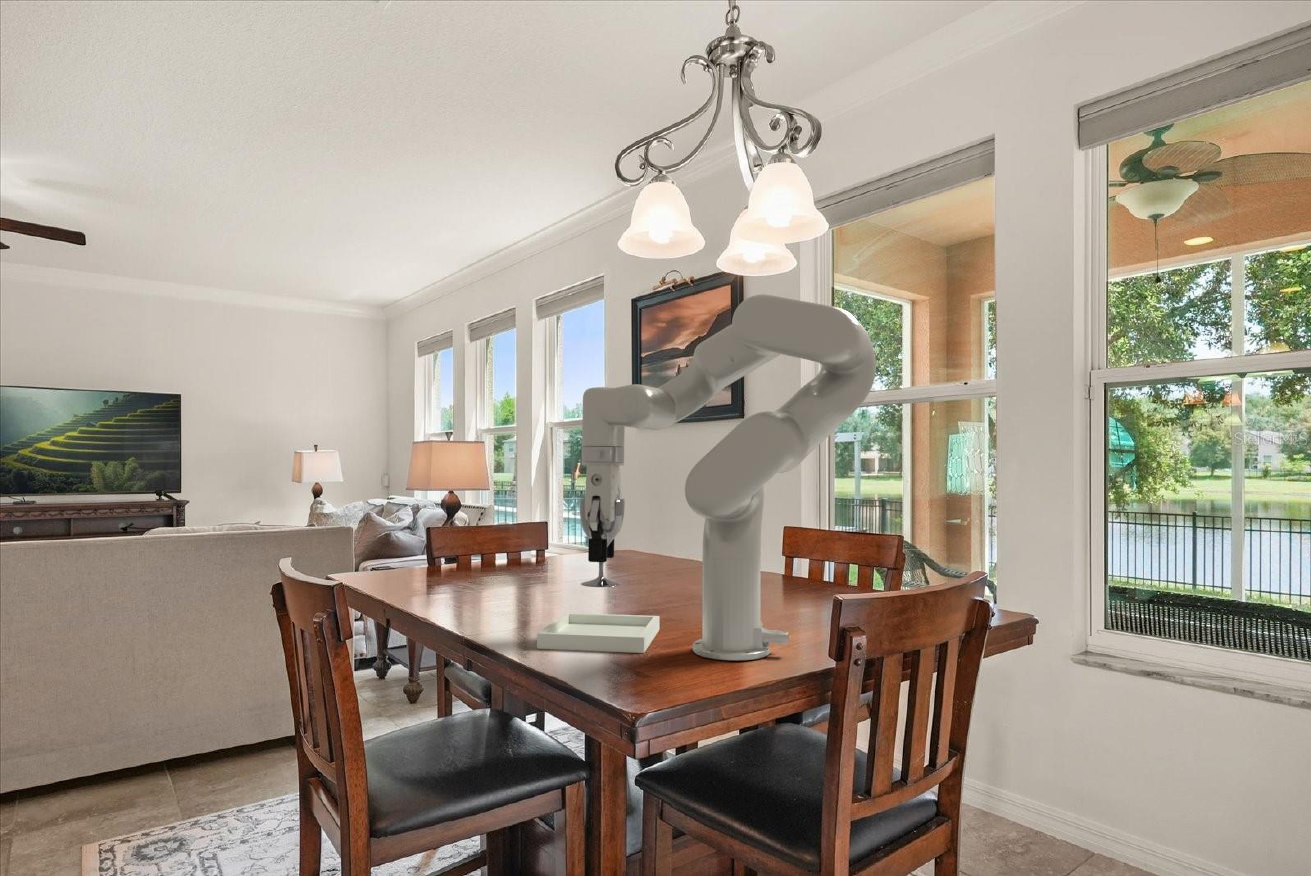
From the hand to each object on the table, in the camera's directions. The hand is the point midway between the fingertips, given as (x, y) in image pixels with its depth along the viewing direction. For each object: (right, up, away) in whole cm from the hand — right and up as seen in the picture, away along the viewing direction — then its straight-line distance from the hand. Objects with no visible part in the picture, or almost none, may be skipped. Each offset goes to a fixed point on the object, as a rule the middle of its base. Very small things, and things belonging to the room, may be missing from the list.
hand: (601, 558), depth 135 cm
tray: (0, -14, -1) cm, 14 cm away
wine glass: (0, -5, 0) cm, 5 cm away
